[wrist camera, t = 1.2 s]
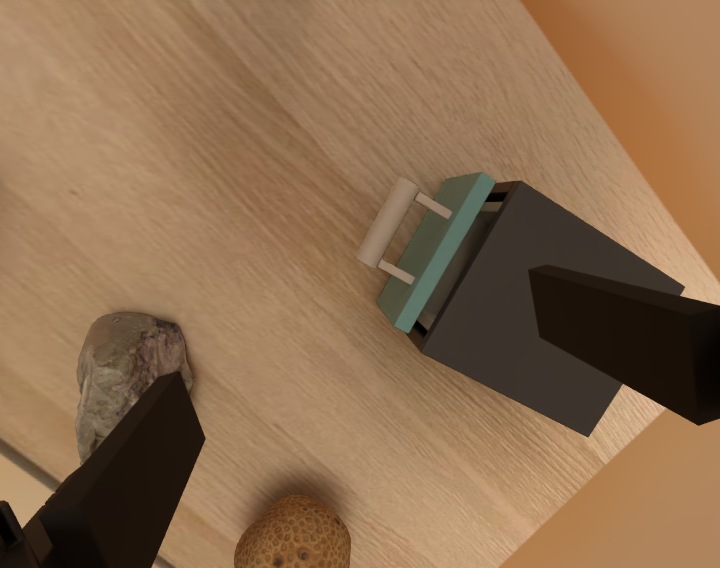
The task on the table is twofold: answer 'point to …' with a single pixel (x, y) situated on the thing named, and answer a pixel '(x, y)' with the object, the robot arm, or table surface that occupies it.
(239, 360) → the table surface
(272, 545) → the natural sponge
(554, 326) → the robot arm
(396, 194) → the drawer
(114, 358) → the mineral rock
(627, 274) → the dark drawer cabinet
